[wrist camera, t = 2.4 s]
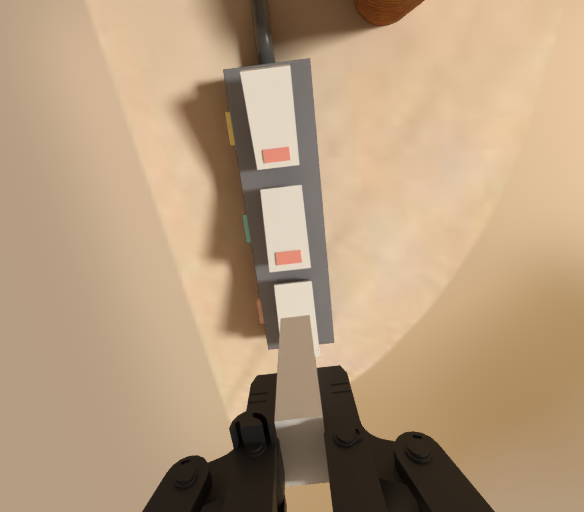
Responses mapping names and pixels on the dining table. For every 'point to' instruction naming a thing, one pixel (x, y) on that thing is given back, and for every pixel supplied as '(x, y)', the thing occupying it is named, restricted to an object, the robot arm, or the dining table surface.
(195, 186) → the dining table surface
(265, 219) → the cream switch plate
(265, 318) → the power strip
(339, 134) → the dining table surface
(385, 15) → the disposable coffee cup
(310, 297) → the cream rocker switch
